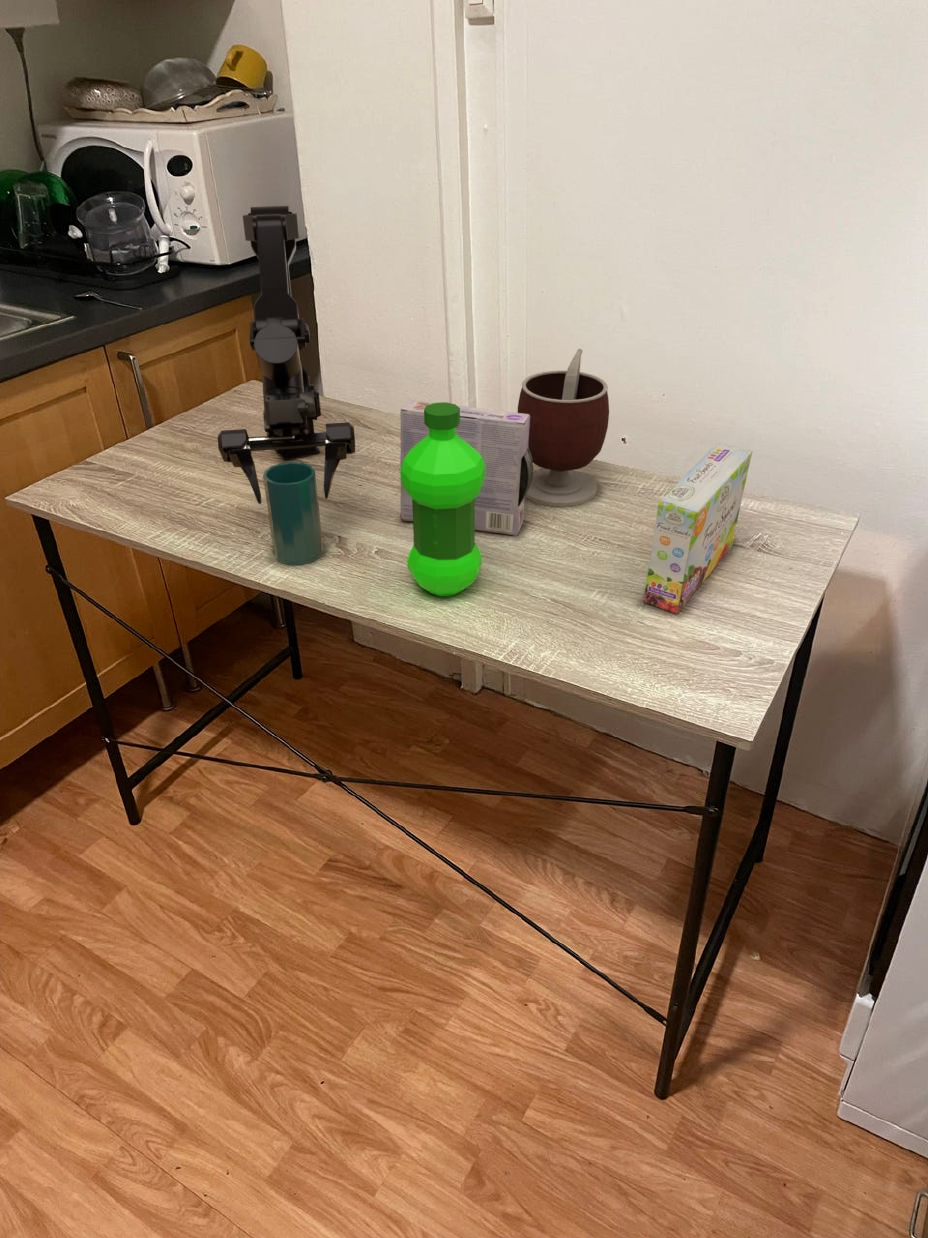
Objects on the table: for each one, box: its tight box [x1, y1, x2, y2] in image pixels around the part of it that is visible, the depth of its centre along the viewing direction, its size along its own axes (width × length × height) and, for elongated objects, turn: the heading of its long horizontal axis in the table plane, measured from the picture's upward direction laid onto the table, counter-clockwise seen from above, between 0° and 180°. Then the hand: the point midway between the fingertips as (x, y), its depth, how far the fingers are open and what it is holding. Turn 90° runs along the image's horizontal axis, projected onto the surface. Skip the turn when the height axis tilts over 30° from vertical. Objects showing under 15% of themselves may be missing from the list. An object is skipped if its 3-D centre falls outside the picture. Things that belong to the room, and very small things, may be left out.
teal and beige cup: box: [262, 461, 324, 566], centre depth 127 cm, size 7×7×12 cm
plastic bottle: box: [399, 401, 485, 597], centre depth 116 cm, size 10×10×25 cm
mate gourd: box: [517, 348, 610, 508], centre depth 142 cm, size 16×14×20 cm
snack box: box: [642, 443, 753, 614], centre depth 121 cm, size 21×6×15 cm, turn 148°
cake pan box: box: [399, 399, 534, 537], centre depth 133 cm, size 19×5×18 cm, turn 75°
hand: (293, 500), depth 128 cm, fingers open, 9 cm apart
